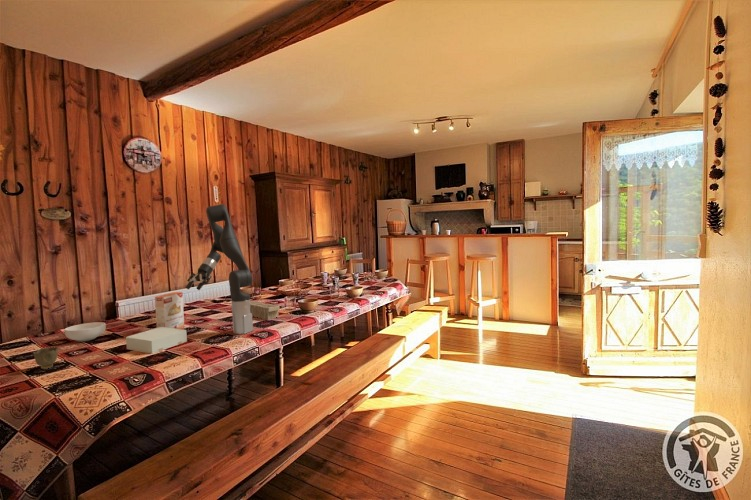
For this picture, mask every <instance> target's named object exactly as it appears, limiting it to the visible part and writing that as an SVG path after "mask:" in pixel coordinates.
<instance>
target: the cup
mask: <svg viewBox="0 0 751 500" xmlns="http://www.w3.org/2000/svg"><path fill="white" fill-rule="evenodd" d="M32 353H33V357H34V360H35V363H36V364H37V366H39V367H40V369H42V370H49V369H52V368H53V366H54V363H55V362H56V361H57V358H58V346H55V347H54V346H50V347H49V348H48V347H46V348H43V347H41V348H40V349H37V350H36V351H32ZM51 367H52V368H51ZM48 368H49V369H48Z"/></svg>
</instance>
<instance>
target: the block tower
mask: <svg viewBox="0 0 751 500" xmlns="http://www.w3.org/2000/svg"><path fill="white" fill-rule="evenodd" d="M250 311H251V313H252V317H253V316H254V318H257V317H258V319H261V318H262V320H265V319H267V320H266V321H270V320H269V319H271V320H274V319H273V318H275V319H277V318H276V317H279V318H280V316H279V311H280V305H277V304H271V303H265V302H260V301H257V300H256V301H255V300H250Z"/></svg>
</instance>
